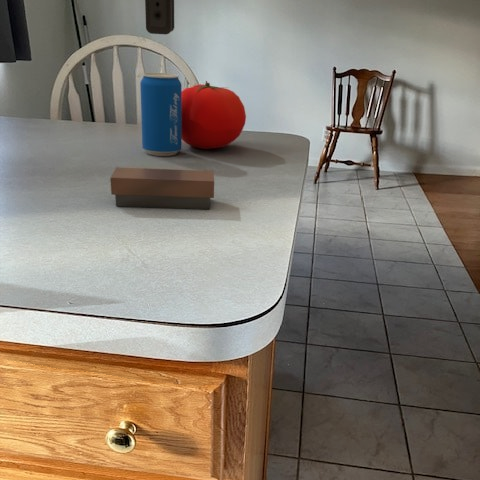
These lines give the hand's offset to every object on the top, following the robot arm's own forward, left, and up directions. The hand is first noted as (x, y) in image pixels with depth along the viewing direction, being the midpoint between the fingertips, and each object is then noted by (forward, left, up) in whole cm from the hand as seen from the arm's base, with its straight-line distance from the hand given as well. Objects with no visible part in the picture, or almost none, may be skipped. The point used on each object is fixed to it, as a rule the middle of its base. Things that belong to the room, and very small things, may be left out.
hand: (161, 32), depth 52 cm
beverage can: (-2, +35, -19) cm, 40 cm away
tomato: (+6, +41, -19) cm, 46 cm away
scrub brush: (0, +7, -19) cm, 20 cm away
